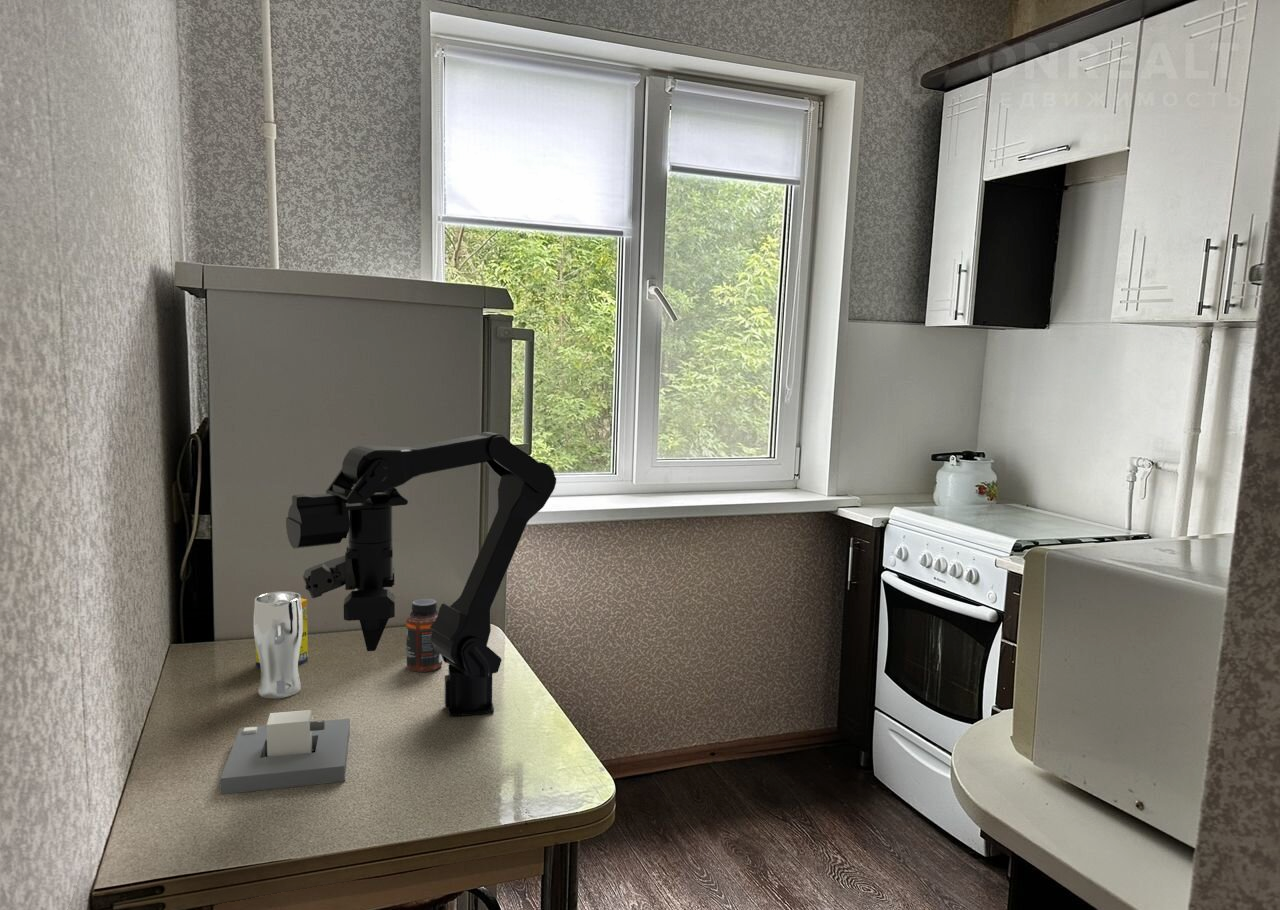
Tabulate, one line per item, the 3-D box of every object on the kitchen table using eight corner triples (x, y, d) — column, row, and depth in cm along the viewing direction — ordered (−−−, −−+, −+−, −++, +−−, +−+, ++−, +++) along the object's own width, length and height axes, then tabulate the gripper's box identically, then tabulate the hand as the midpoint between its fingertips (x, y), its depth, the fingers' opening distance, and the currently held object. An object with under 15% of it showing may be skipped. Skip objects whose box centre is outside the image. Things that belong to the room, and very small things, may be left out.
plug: (325, 751, 113) (325, 708, 112) (323, 764, 109) (323, 719, 109) (271, 757, 111) (270, 713, 110) (267, 769, 108) (266, 724, 107)
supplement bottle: (450, 665, 144) (450, 600, 143) (423, 676, 139) (423, 609, 138) (425, 657, 148) (425, 594, 146) (398, 667, 143) (398, 602, 141)
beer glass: (286, 702, 128) (284, 605, 126) (245, 697, 129) (242, 601, 127) (313, 685, 134) (311, 593, 133) (273, 680, 136) (271, 589, 134)
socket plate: (349, 732, 119) (349, 715, 118) (344, 781, 105) (344, 762, 105) (240, 741, 115) (239, 725, 114) (220, 794, 101) (220, 775, 101)
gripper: (313, 526, 122) (314, 632, 124) (299, 558, 104) (301, 680, 106) (394, 524, 125) (394, 627, 127) (394, 554, 107) (394, 673, 109)
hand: (371, 650), depth 117 cm, fingers closed
